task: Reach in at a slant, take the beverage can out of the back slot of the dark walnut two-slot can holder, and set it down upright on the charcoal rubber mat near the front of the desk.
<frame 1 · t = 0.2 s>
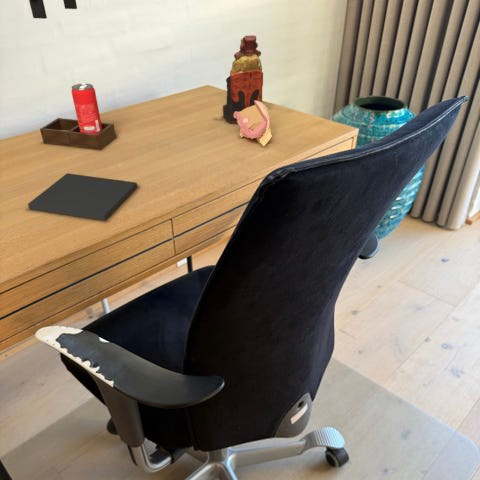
hand: (56, 13, 104), 25 cm above the table, tool pointing down, fingers open, 13 cm apart
beverage can: (93, 140, 115), resting on can holder
can holder: (80, 140, 116), on the table
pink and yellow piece: (254, 141, 116), on the table
mat: (85, 198, 94), on the table
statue: (239, 119, 128), on the table
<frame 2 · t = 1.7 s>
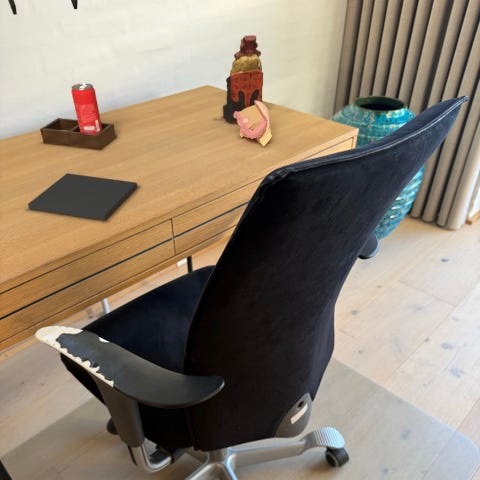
hand: (46, 7, 107), 26 cm above the table, tool tilted 45°, fingers open, 13 cm apart
nothing on the table moved.
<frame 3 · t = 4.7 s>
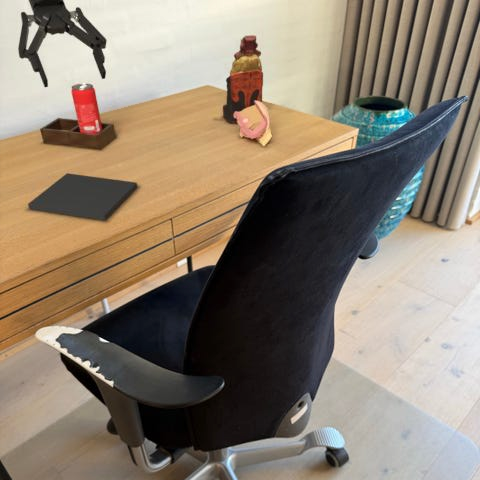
hand: (75, 79, 111), 13 cm above the table, tool tilted 45°, fingers open, 13 cm apart
nothing on the table moved.
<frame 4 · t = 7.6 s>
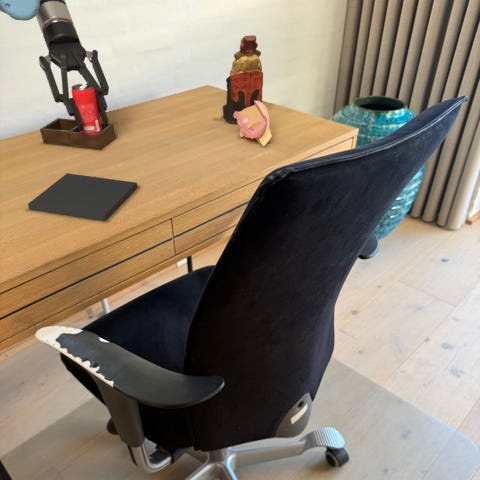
hand: (93, 125, 110), 5 cm above the table, tool tilted 45°, fingers closed on beverage can, 5 cm apart
beverage can: (93, 140, 115), resting on can holder, touching gripper
everything else where it was.
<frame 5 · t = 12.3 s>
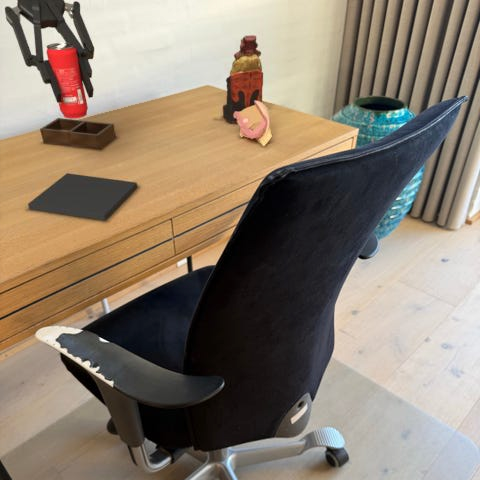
hand: (75, 95, 88), 17 cm above the table, tool tilted 45°, fingers closed on beverage can, 5 cm apart
beverage can: (75, 115, 93), point 12 cm above the table, touching gripper
everything else where it was.
when the fingers open (6 cm above the table, at t = 17.0 s): beverage can stays where it is, resting on mat.
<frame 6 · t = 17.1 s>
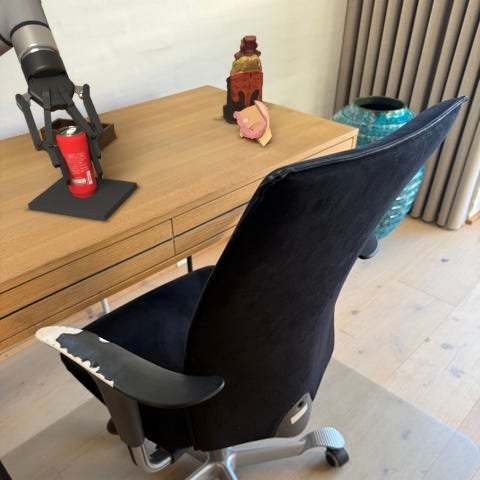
hand: (84, 178, 88), 6 cm above the table, tool tilted 45°, fingers open, 5 cm apart
beverage can: (84, 193, 93), point 1 cm above the table, touching mat
everything else where it was.
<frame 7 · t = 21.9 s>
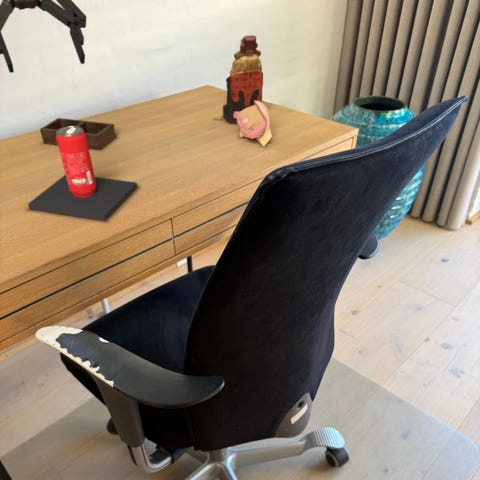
hand: (48, 64, 92), 20 cm above the table, tool tilted 45°, fingers open, 13 cm apart
nothing on the table moved.
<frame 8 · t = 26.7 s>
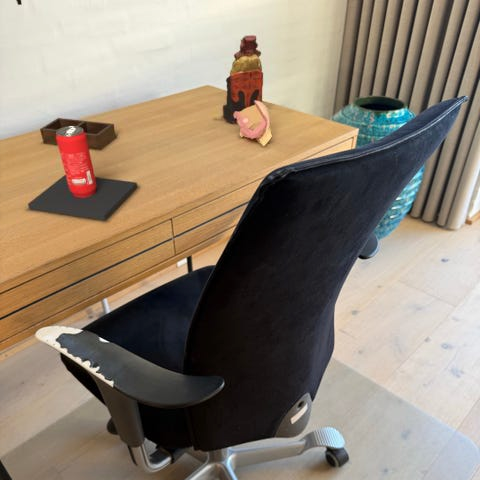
nothing on the table moved.
at the end: beverage can inside the target area on the mat (0.0 cm from its centre), point 1.0 cm above the mat's base; beverage can tilted 0°; beverage can touching mat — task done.
